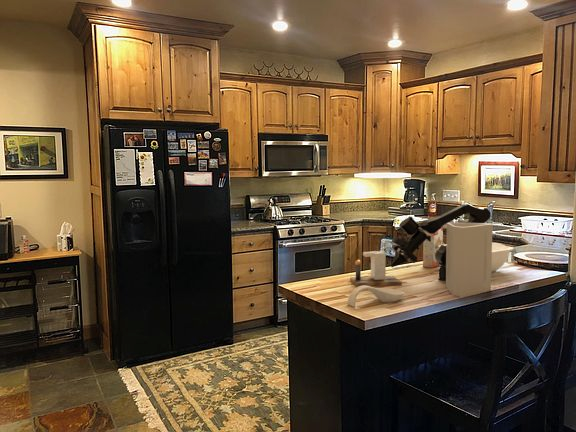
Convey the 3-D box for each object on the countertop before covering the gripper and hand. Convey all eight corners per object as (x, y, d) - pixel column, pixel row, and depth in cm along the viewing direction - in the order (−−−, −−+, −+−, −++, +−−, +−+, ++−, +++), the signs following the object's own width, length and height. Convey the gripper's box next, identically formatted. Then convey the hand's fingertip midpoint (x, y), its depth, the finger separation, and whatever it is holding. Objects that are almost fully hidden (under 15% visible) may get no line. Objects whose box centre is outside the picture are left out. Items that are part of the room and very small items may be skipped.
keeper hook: (360, 279, 212) (360, 259, 211) (361, 280, 210) (361, 260, 209) (354, 279, 212) (354, 259, 211) (356, 280, 209) (355, 260, 208)
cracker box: (433, 268, 240) (434, 228, 238) (422, 267, 244) (422, 227, 242) (442, 263, 251) (443, 225, 250) (432, 262, 255) (432, 224, 253)
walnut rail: (392, 278, 219) (392, 275, 218) (401, 284, 207) (401, 280, 207) (350, 280, 217) (350, 276, 216) (356, 286, 205) (356, 282, 204)
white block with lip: (381, 276, 215) (381, 250, 214) (385, 279, 209) (385, 253, 208) (362, 277, 214) (362, 251, 213) (365, 280, 208) (365, 253, 207)
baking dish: (475, 280, 213) (476, 253, 212) (428, 269, 237) (429, 245, 236) (522, 271, 229) (523, 246, 228) (474, 262, 254) (474, 239, 253)
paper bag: (462, 283, 208) (463, 221, 205) (491, 290, 195) (493, 224, 193) (432, 289, 198) (433, 224, 195) (461, 297, 185) (463, 227, 183)
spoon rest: (391, 295, 191) (391, 278, 190) (410, 302, 180) (410, 284, 180) (342, 303, 181) (342, 285, 180) (359, 311, 170) (359, 291, 169)
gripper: (395, 227, 220) (373, 251, 220) (410, 232, 201) (385, 258, 201) (411, 243, 221) (389, 267, 221) (427, 249, 203) (402, 275, 203)
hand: (391, 266), depth 212 cm, fingers closed
